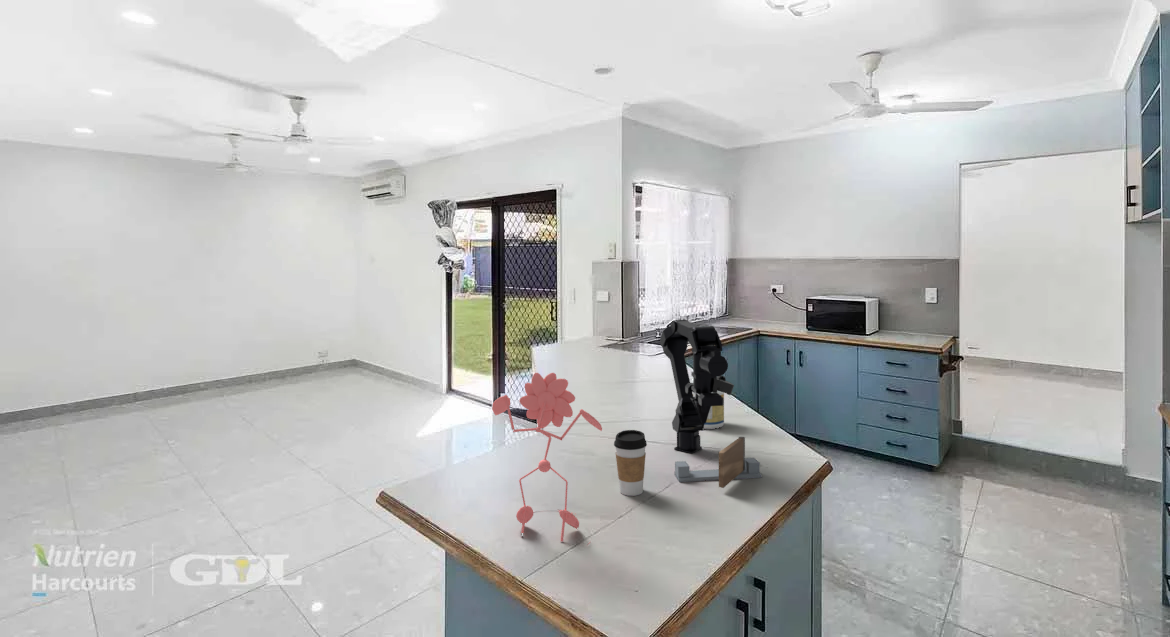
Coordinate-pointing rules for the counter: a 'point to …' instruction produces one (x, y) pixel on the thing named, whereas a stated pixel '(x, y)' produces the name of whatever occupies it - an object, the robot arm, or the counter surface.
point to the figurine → (545, 405)
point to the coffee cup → (630, 461)
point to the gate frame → (715, 472)
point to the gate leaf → (731, 461)
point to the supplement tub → (715, 415)
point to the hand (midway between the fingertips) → (703, 423)
